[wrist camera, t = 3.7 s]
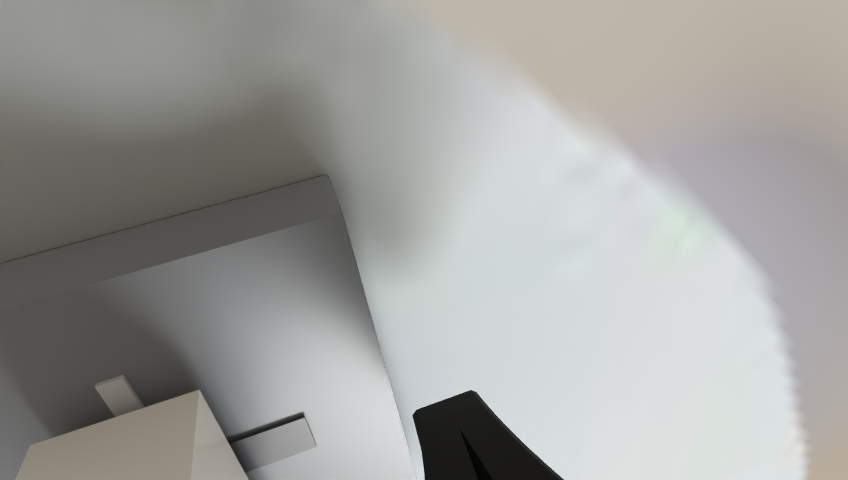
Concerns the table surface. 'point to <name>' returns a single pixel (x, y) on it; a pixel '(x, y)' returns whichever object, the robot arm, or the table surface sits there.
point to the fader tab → (140, 447)
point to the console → (208, 337)
